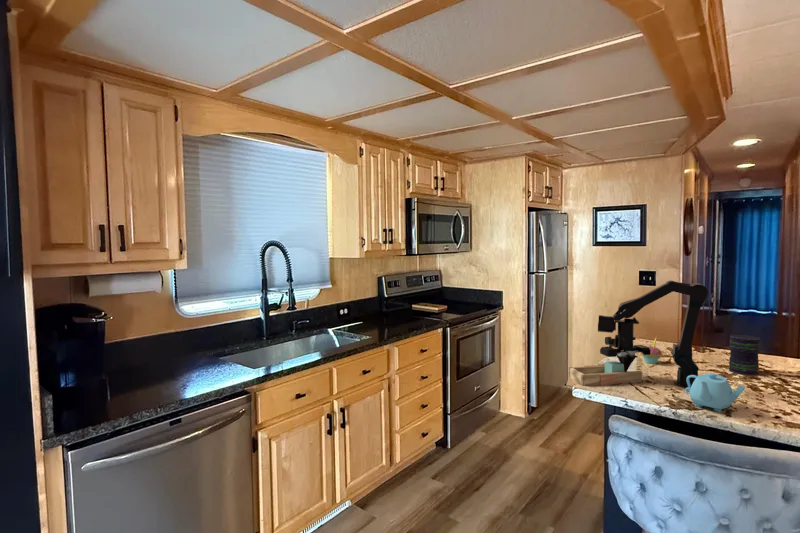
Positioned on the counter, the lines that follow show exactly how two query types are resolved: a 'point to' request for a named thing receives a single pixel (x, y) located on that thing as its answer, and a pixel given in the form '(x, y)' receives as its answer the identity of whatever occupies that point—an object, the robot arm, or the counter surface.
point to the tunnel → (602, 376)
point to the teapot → (712, 391)
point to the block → (613, 366)
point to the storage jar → (744, 354)
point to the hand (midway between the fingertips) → (624, 371)
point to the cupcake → (652, 355)
